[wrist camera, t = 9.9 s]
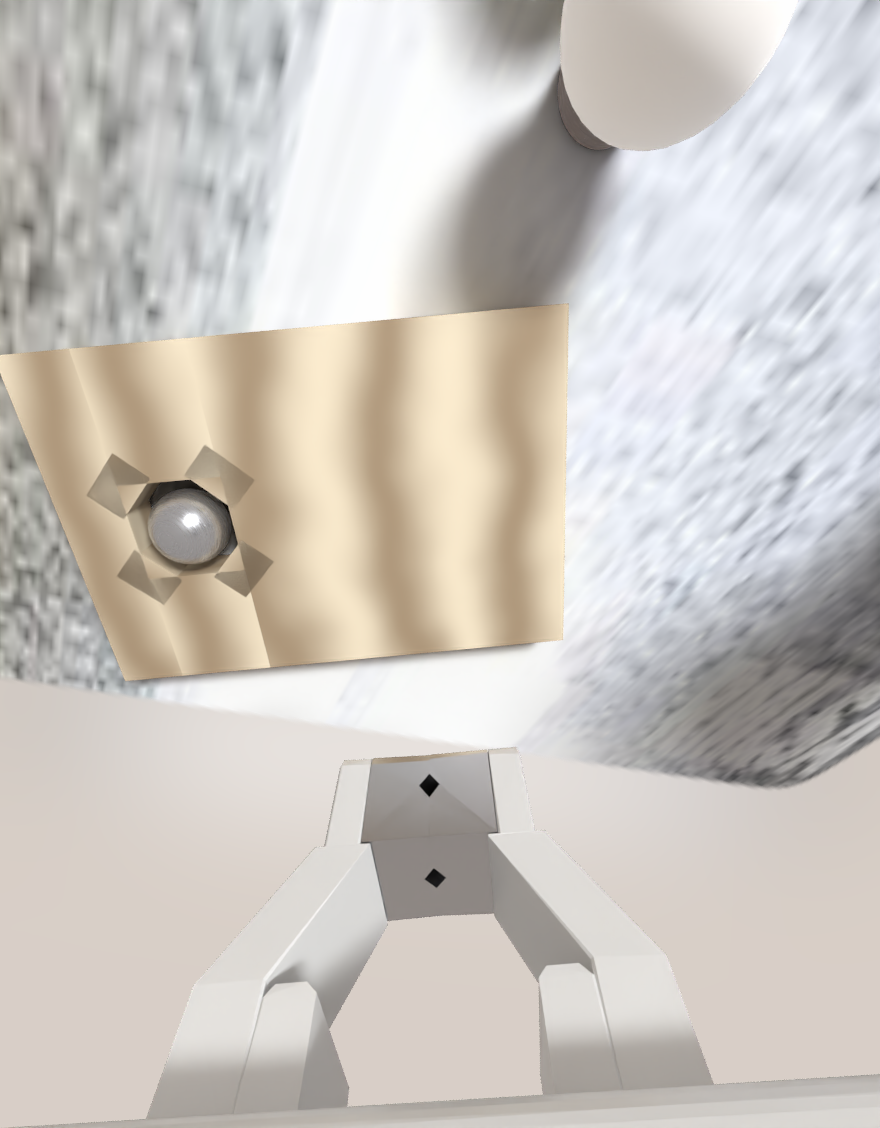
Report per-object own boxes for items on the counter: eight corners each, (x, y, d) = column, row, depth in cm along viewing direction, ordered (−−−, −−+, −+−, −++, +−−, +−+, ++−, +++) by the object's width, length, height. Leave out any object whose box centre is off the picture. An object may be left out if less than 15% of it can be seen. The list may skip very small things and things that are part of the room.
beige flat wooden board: (555, 304, 26) (568, 303, 24) (553, 618, 34) (563, 639, 32) (29, 352, 26) (-7, 355, 24) (144, 656, 34) (125, 681, 32)
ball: (236, 479, 29) (188, 504, 25) (252, 546, 30) (210, 579, 27) (173, 478, 30) (118, 502, 26) (192, 544, 31) (143, 575, 28)
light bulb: (512, 16, 22) (593, -238, 12) (676, -35, 21) (905, -342, 11) (539, 207, 25) (623, 131, 15) (685, 165, 24) (874, 58, 14)
